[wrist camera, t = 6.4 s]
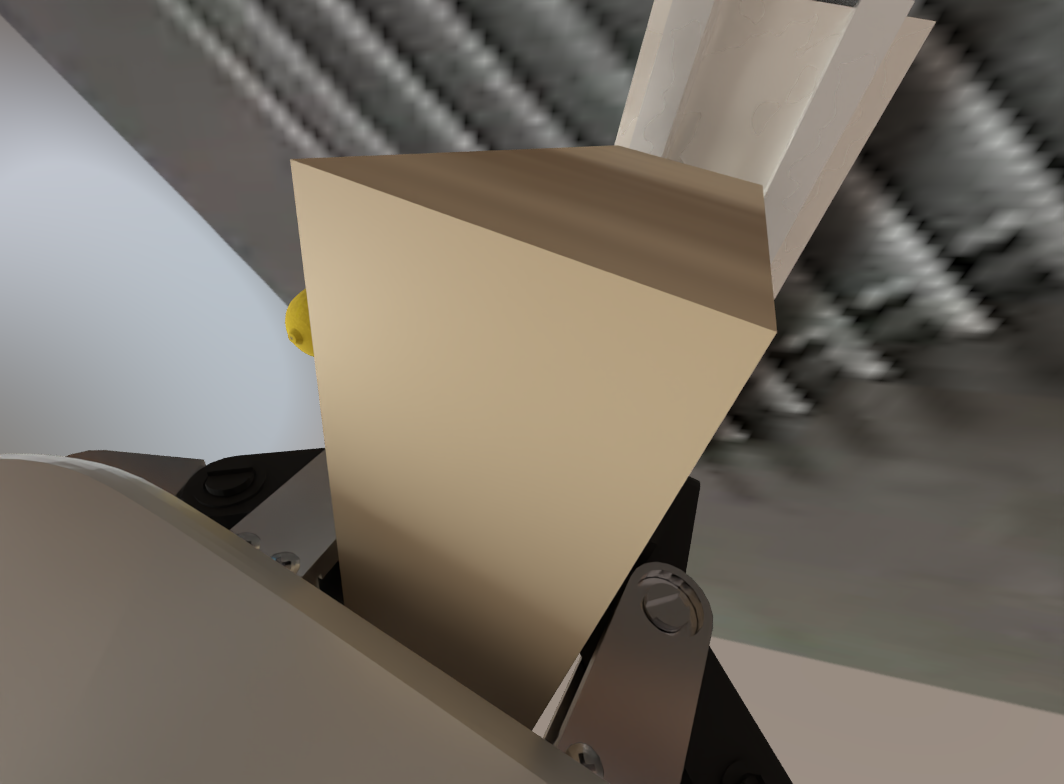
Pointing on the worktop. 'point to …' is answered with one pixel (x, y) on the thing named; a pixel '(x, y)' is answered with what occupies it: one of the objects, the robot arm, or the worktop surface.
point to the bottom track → (770, 97)
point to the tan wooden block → (519, 384)
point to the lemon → (299, 323)
